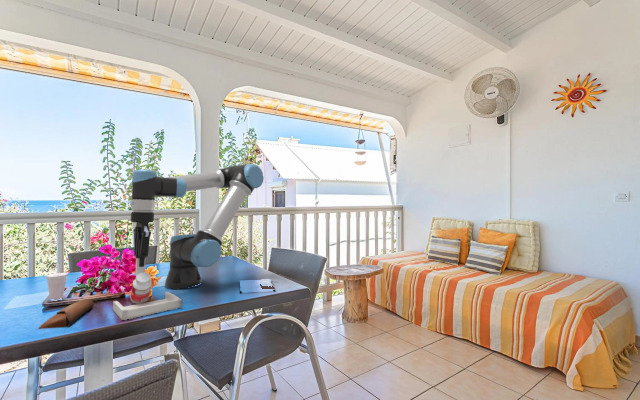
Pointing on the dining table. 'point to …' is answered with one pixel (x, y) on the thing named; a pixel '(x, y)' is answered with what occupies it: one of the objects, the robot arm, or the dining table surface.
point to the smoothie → (56, 284)
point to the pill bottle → (141, 288)
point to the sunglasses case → (68, 314)
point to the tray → (147, 307)
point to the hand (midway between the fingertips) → (140, 275)
